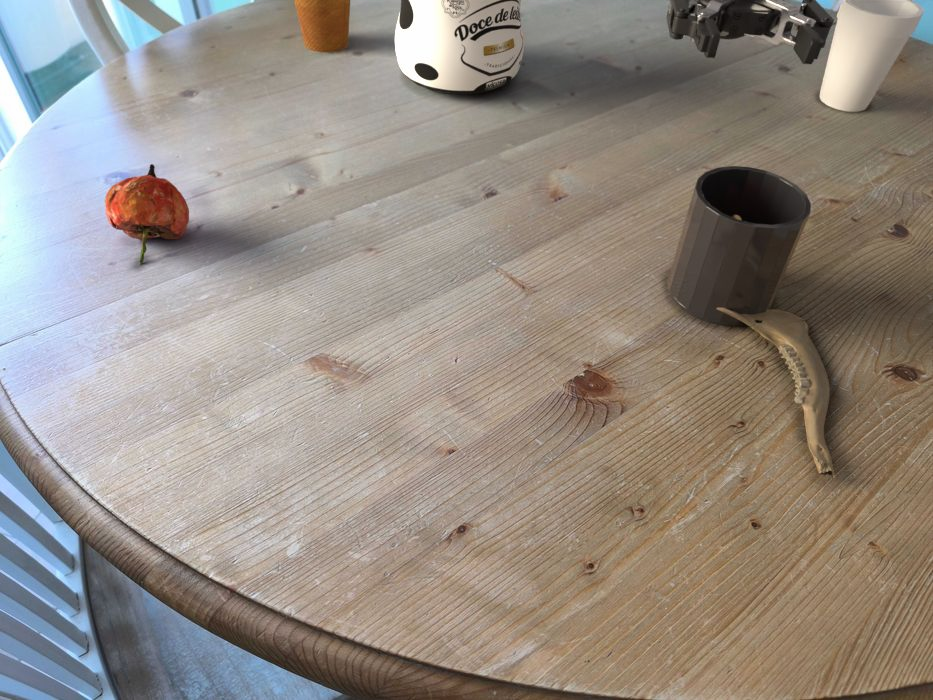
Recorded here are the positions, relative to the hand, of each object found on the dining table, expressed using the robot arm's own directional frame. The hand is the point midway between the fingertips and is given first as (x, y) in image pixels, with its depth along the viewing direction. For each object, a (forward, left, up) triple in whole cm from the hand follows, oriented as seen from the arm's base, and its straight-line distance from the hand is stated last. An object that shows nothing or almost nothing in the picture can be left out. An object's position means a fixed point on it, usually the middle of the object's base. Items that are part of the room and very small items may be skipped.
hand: (763, 50), depth 65 cm
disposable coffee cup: (+48, -42, -20) cm, 67 cm away
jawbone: (-1, +21, -20) cm, 29 cm away
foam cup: (-25, -34, -20) cm, 47 cm away
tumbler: (0, +10, -20) cm, 22 cm away
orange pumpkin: (+55, +8, -20) cm, 59 cm away
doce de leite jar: (+28, -34, -20) cm, 49 cm away
